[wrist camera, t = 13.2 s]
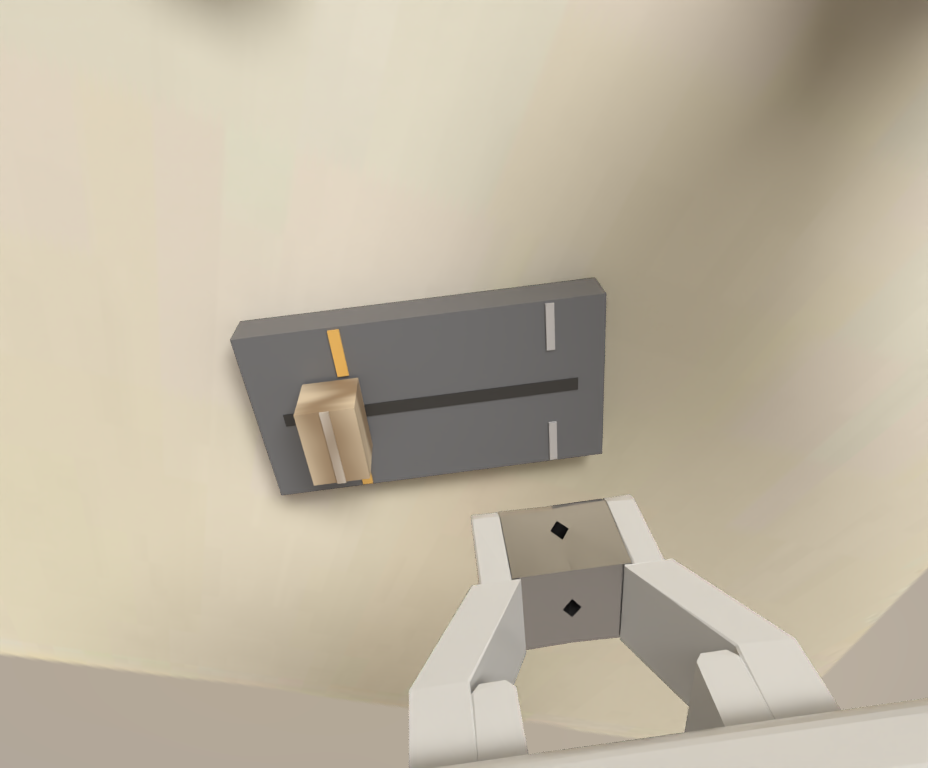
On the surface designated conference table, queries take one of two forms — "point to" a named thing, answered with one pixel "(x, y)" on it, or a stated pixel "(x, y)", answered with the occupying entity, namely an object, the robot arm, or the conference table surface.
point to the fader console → (439, 379)
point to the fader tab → (334, 431)
